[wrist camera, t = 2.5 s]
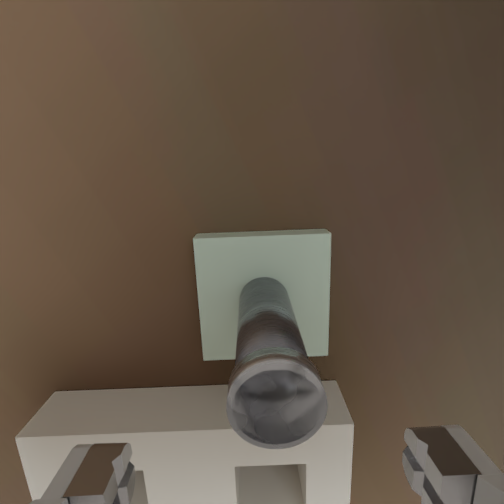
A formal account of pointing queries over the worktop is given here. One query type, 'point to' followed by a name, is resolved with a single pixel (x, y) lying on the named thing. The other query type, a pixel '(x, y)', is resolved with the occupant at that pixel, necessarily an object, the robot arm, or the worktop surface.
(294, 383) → the plug
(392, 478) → the worktop surface
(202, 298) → the pale green square tile
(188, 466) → the socket board
